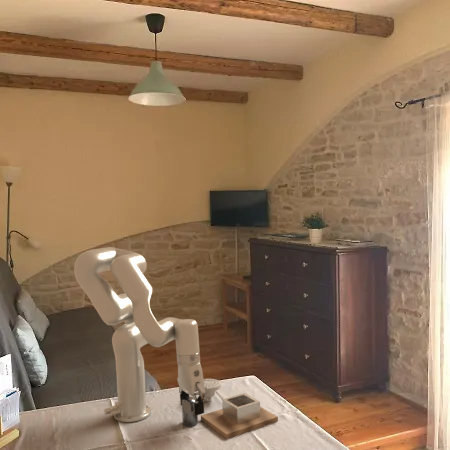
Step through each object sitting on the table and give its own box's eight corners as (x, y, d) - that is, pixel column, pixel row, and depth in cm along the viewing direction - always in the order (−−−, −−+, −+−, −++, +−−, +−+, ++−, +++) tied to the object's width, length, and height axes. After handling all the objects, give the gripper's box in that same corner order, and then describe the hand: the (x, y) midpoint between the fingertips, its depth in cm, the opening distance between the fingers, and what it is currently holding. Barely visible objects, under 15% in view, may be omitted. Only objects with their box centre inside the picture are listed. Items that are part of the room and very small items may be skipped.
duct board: (226, 439, 148) (225, 418, 148) (200, 419, 162) (200, 400, 161) (277, 421, 159) (277, 401, 159) (249, 404, 172) (249, 386, 172)
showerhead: (192, 386, 172) (197, 376, 182) (193, 406, 173) (197, 395, 183) (218, 386, 171) (221, 376, 181) (219, 406, 172) (222, 395, 182)
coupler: (187, 428, 156) (186, 404, 156) (180, 422, 160) (179, 399, 160) (200, 424, 159) (199, 400, 158) (193, 418, 163) (192, 395, 163)
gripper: (211, 361, 153) (215, 414, 154) (186, 349, 168) (189, 398, 168) (190, 367, 149) (194, 421, 150) (166, 354, 164) (170, 404, 164)
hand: (192, 409), depth 159 cm, fingers open, 9 cm apart
